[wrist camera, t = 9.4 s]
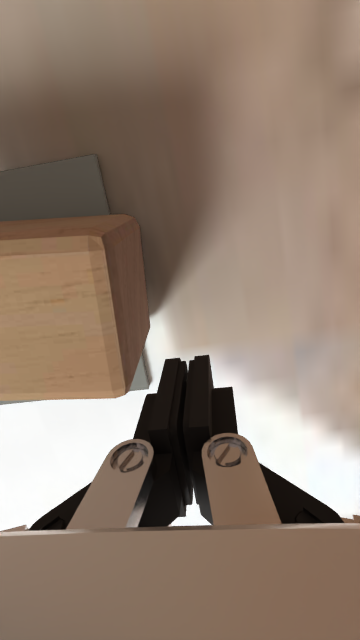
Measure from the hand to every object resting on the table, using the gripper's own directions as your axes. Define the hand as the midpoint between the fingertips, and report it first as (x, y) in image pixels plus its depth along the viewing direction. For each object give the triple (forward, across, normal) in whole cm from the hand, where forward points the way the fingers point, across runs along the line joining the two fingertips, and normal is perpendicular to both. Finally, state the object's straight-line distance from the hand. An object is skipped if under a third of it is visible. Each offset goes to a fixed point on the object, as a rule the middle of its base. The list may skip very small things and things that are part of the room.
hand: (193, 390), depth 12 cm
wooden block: (+10, +4, -1) cm, 11 cm away
